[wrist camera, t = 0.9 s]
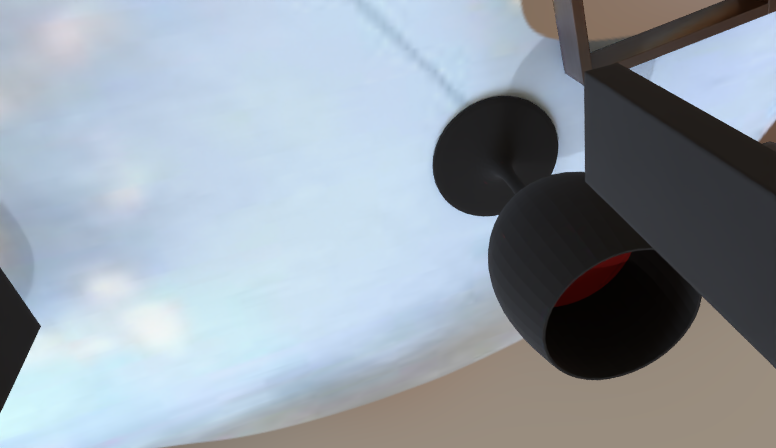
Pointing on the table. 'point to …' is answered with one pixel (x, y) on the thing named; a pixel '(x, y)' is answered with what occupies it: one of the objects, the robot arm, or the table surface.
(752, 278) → the robot arm
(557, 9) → the frame
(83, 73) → the table surface
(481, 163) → the wine glass
